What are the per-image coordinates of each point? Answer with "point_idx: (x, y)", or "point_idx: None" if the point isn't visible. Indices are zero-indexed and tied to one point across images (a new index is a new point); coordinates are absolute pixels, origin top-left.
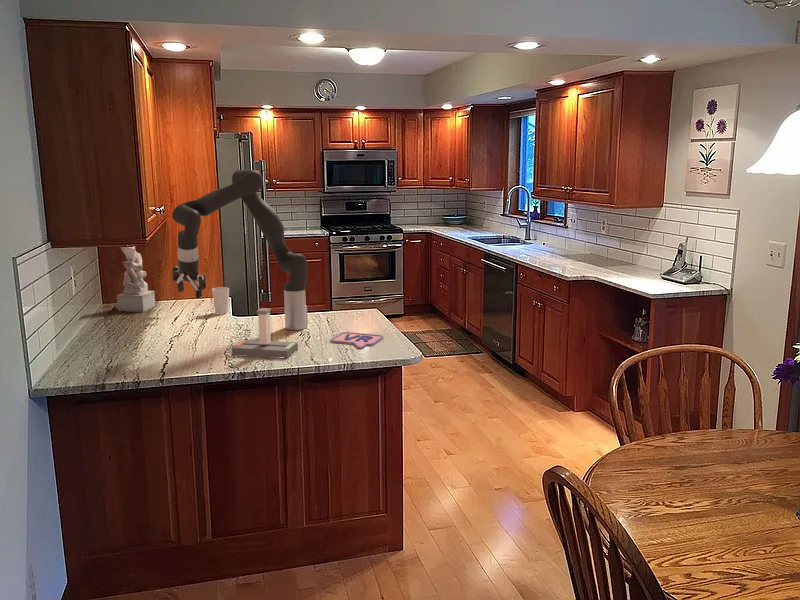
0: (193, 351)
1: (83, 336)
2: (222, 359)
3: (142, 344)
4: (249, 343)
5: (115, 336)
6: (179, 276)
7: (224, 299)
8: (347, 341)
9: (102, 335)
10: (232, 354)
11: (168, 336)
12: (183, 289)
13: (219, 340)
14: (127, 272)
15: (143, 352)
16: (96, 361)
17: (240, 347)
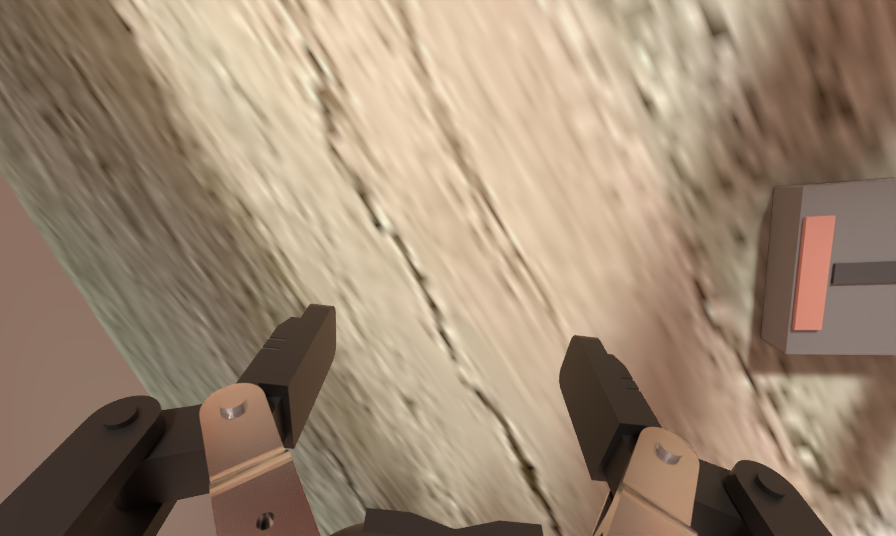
0: (543, 314)
1: (51, 223)
2: (737, 399)
3: (291, 267)
4: (876, 267)
5: (131, 191)
6: (135, 448)
7: None
8: None
9: (86, 192)
10: (766, 339)
11: (300, 123)
12: (329, 315)
13: (569, 108)
14: None
15: (366, 361)
16: (302, 470)
17: (839, 341)
